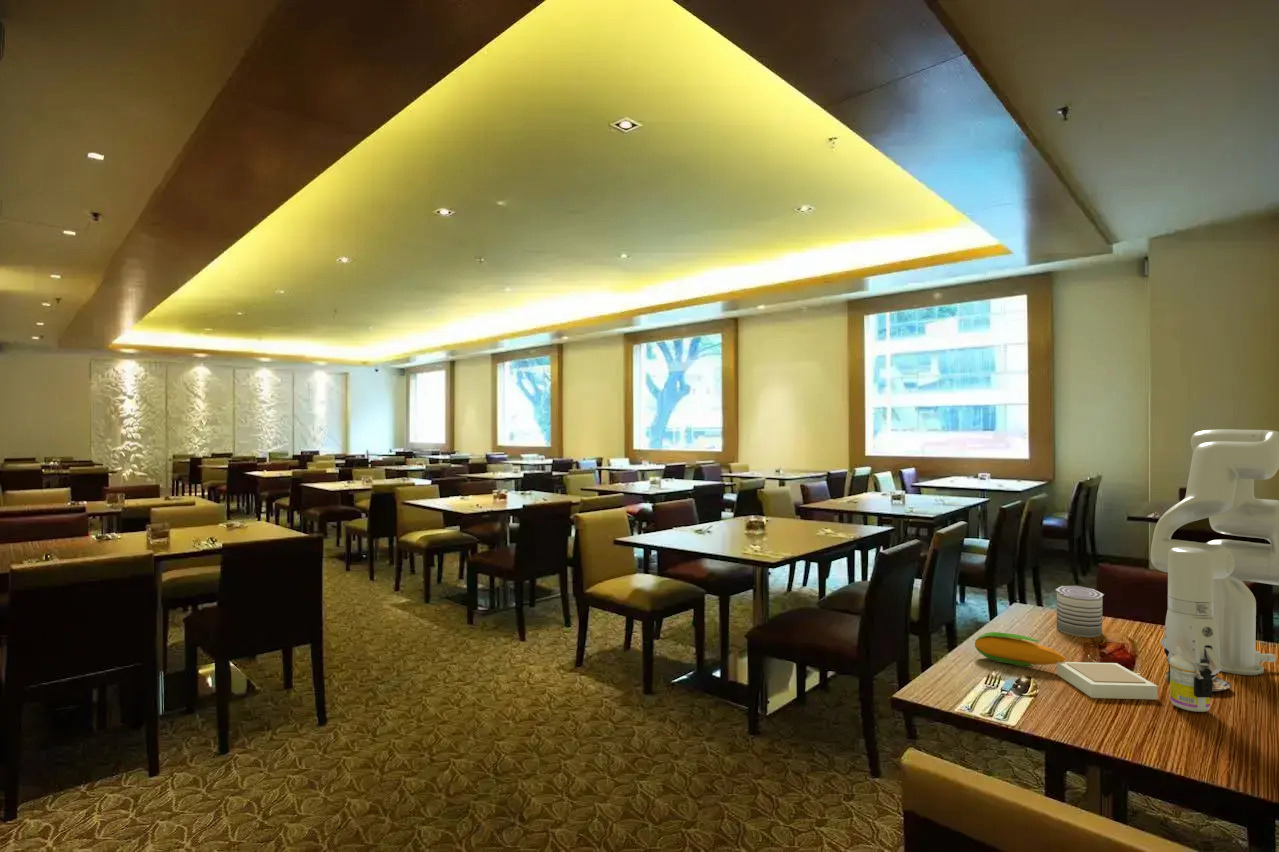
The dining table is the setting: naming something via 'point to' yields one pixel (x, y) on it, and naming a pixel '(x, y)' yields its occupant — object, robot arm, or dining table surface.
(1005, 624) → the dining table surface
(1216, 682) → the burger
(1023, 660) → the corn
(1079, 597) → the can
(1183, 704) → the supplement bottle
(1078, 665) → the base
